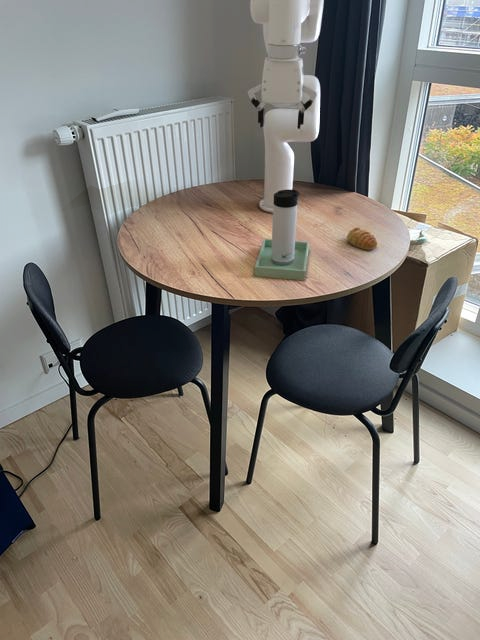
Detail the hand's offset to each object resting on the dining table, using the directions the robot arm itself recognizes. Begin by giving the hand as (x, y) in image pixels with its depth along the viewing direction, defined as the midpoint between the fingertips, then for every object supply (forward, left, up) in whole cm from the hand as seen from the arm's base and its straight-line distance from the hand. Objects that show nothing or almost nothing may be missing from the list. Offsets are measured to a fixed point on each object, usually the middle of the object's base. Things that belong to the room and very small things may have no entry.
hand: (280, 126), depth 126 cm
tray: (+12, +3, -33) cm, 36 cm away
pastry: (-4, +25, -33) cm, 42 cm away
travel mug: (+12, +3, -33) cm, 35 cm away
